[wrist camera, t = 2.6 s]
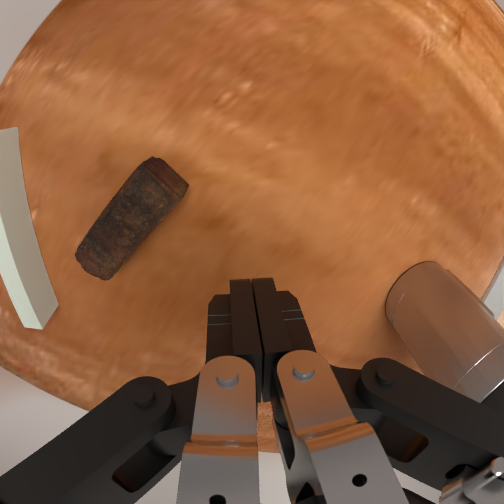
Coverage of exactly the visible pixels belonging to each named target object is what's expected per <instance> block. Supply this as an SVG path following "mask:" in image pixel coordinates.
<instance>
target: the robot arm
mask: <svg viewBox="0 0 504 504" xmlns="http://www.w3.org/2000/svg"><path fill="white" fill-rule="evenodd" d="M386 315H387V318H388V319H389V321H390V322H391V324H392V325H393V327H394V328H395V330H396V331H397V333H398V334H399V336H400V337H401V339H402V341H403V342H404V344H405V345H406V347H407V348H408V350H409V351H410V353H411V355H412V356H413V358H414V359H415V361H416V363H417V364H418V366H419V367H420V369H421V371H422V372H423V374H424V375H422V374H420V373H418V372H416V371H414V370H412V369H410V368H408V367H406V366H404V365H402V364H400V363H399V362H397V361H394V360H392V359H389V358H376V359H372V360H370V361H368V362H367V363H366V364H365V365H364V366H363V368H362V370H358V369H347V368H339V367H335V366H332V365H330V364H329V363H328V362H327V360H326V359H325V358H324V357H323V356H321V355H320V354H318V353H317V352H316V349H315V347H314V344H313V341H312V338H311V335H310V333H309V330H308V327H307V324H306V322H305V319H304V316H303V314H302V311H301V308H300V305H299V303H298V300H297V298H296V297H294V296H293V295H292V294H291V293H290V292H289V291H276V288H275V284H274V281H273V278H256V279H252V280H251V281H250V279H239V280H230V294H223V295H215V296H214V297H213V299H212V300H211V301H210V303H209V305H208V326H207V346H206V362H205V365H204V366H203V368H202V370H201V372H200V373H199V374H197V375H196V376H195V377H193V378H192V379H190V380H187V381H184V382H181V383H177V384H173V385H170V386H167V384H166V383H164V382H163V381H162V380H160V379H158V378H155V377H149V376H145V377H138V378H135V379H133V380H131V381H129V382H128V383H126V384H125V385H124V386H122V387H121V388H120V389H119V390H117V391H116V392H115V393H113V394H112V395H111V396H109V397H108V398H107V399H106V400H104V401H103V402H102V403H100V404H99V405H98V406H96V407H95V408H94V409H92V410H91V411H90V412H89V413H87V414H86V415H85V416H83V417H82V418H81V419H79V420H78V421H77V422H75V423H74V424H73V425H71V426H70V427H69V428H67V429H66V430H65V431H64V432H62V433H61V434H60V435H58V436H56V437H55V438H54V439H53V440H51V441H50V442H48V443H47V444H46V445H44V446H43V447H41V448H40V449H39V450H38V451H36V452H34V453H33V454H32V455H30V456H29V457H28V458H26V459H25V460H23V461H22V462H21V463H19V464H18V465H16V466H15V467H13V468H12V469H11V470H9V471H8V472H6V473H5V474H3V475H2V476H1V477H0V504H134V503H135V502H137V500H139V499H140V498H141V497H142V496H143V495H144V494H146V493H147V492H148V491H149V490H150V489H151V488H152V487H153V486H155V485H156V484H157V483H158V482H159V481H160V480H161V479H162V478H163V477H164V476H165V475H167V473H169V472H170V471H171V470H172V469H173V468H174V467H175V466H176V465H177V464H178V463H179V462H180V461H181V468H180V477H179V485H178V493H177V502H176V504H260V498H259V467H258V466H259V465H258V444H257V404H258V402H261V392H262V398H263V402H268V401H271V405H272V411H273V415H272V424H273V428H274V431H275V435H276V439H277V443H278V447H279V450H280V454H281V458H282V461H283V465H284V469H285V473H286V484H287V490H288V494H289V498H290V502H291V504H435V503H433V502H431V501H429V500H427V499H425V498H423V497H421V496H420V495H418V494H416V493H414V492H412V491H410V490H408V489H405V488H402V487H401V485H400V483H399V481H398V478H397V477H396V474H395V472H394V470H393V468H395V469H397V470H399V471H400V472H402V473H404V474H407V475H408V476H410V477H412V478H414V479H416V480H418V481H420V482H422V483H425V484H427V485H429V486H431V487H433V488H435V489H437V490H440V491H442V494H441V496H440V498H439V504H504V329H503V327H502V326H501V325H500V324H499V323H498V322H497V321H496V320H495V319H494V314H493V312H492V311H491V310H490V309H489V308H488V307H487V306H486V305H485V304H484V303H483V302H482V301H481V300H480V299H479V298H478V297H477V296H476V295H475V294H474V293H473V292H472V291H471V290H470V289H469V288H468V287H467V286H466V285H464V284H463V283H462V282H461V281H460V280H459V279H458V278H457V277H456V276H455V275H454V274H453V273H451V272H450V271H449V270H448V271H446V270H445V269H444V268H442V267H441V266H440V265H439V264H437V263H434V262H424V263H421V264H418V265H416V266H414V267H412V268H411V269H409V270H408V271H407V272H405V273H404V274H403V275H402V276H401V277H400V278H399V279H398V281H397V282H396V283H395V285H394V286H393V288H392V289H391V291H390V293H389V296H388V298H387V302H386ZM392 467H393V468H392Z"/></svg>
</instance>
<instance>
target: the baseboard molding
mask: <svg viewBox="0 0 504 504" xmlns="http://www.w3.org/2000/svg"><path fill="white" fill-rule="evenodd" d="M481 301H482V302H483V303H484V304H485V305H486V306H487V307H488V308H489V309H490V310H491V311H492V312H493V314H494V319H495V320H497V319H498V317H499V316H500V314H501V312H502V311H503V309H504V257H503V259H502V261H501V263H500V265H499V267H498V269H497V271H496V273H495V275H494V277H493V279H492V281H491V283H490V284H489V286H488V288H487V290H486V292H485V293H484V295H483V297H482V298H481Z"/></svg>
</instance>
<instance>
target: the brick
mask: <svg viewBox="0 0 504 504" xmlns="http://www.w3.org/2000/svg"><path fill="white" fill-rule="evenodd" d="M188 186H189V185H188V183H187V182H186V181H185V180H183V179H182V178H181V177H180V176H179V175H178V174H177V173H176V172H175V171H174V170H173V169H172V168H171V167H170V166H169V165H168V164H167V163H166V162H165V161H163V160H162V159H160V158H158V159H157V158H154V157H150V158H149V159H148V160H146V161H144V162H143V163H142V164H141V165H139V166H138V167H137V169H136V170H135V171H134V172H133V173H132V174H131V176H130V177H129V178H128V179H127V181H126V182H125V183H124V185H123V186H122V187H121V188H120V190H119V191H118V192H117V194H116V195H115V196H114V197H113V198H112V200H111V201H110V203H109V204H108V205H107V207H106V208H105V209H104V210H103V211H102V213H101V215H100V216H99V217H98V219H97V220H96V221H95V223H94V224H93V226H92V227H91V228H90V230H89V232H88V233H87V234H86V236H85V237H84V239H83V241H82V242H81V244H80V245H79V247H78V249H77V252H76V254H75V256H76V259H77V261H78V262H79V263H80V264H81V265H82V267H83V269H84V271H86V272H87V273H89V274H91V275H93V276H96V277H98V278H100V279H102V280H109V279H110V278H112V277H113V276H114V274H115V273H116V272H117V271H118V270H119V269H120V267H121V266H122V265H123V264H124V263H125V262H126V261H127V260H128V259H129V257H130V256H131V255H132V254H133V252H134V251H135V250H136V249H137V248H138V247H139V246H140V245H141V243H142V242H143V241H144V240H145V239H146V238H147V237H148V235H149V234H150V233H151V232H152V231H153V230H154V229H155V227H156V226H157V225H158V224H159V223H160V222H161V221H162V220H163V219H164V218H165V217H166V216H167V214H168V213H169V212H170V211H171V210H172V209H173V208H174V207H175V206H176V205H177V203H178V202H179V201H180V200H181V198H183V196H184V194H185V192H186V190H187V188H188Z"/></svg>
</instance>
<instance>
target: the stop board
mask: <svg viewBox="0 0 504 504" xmlns="http://www.w3.org/2000/svg"><path fill="white" fill-rule="evenodd" d="M0 273H1V276H2V279H3V281H4V284H5V286H6V288H7V291H8V293H9V296H10V298H11V300H12V302H13V305H14V307H15V309H16V311H17V313H18V315H19V317H20V319H21V321H22V323H23V325H24V327H27V328H35V329H43V328H44V327H45V325H46V323H47V322H48V320H49V319H50V317H51V316H52V314H53V313H54V311H55V310H56V308H57V307H58V305H59V303H58V300H57V298H56V295H55V293H54V290H53V287H52V285H51V282H50V279H49V276H48V273H47V270H46V267H45V264H44V261H43V258H42V255H41V252H40V248H39V245H38V241H37V238H36V234H35V230H34V226H33V222H32V218H31V214H30V209H29V205H28V200H27V195H26V189H25V184H24V177H23V171H22V164H21V156H20V146H19V135H18V127H13V128H8V129H3V130H0Z"/></svg>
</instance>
